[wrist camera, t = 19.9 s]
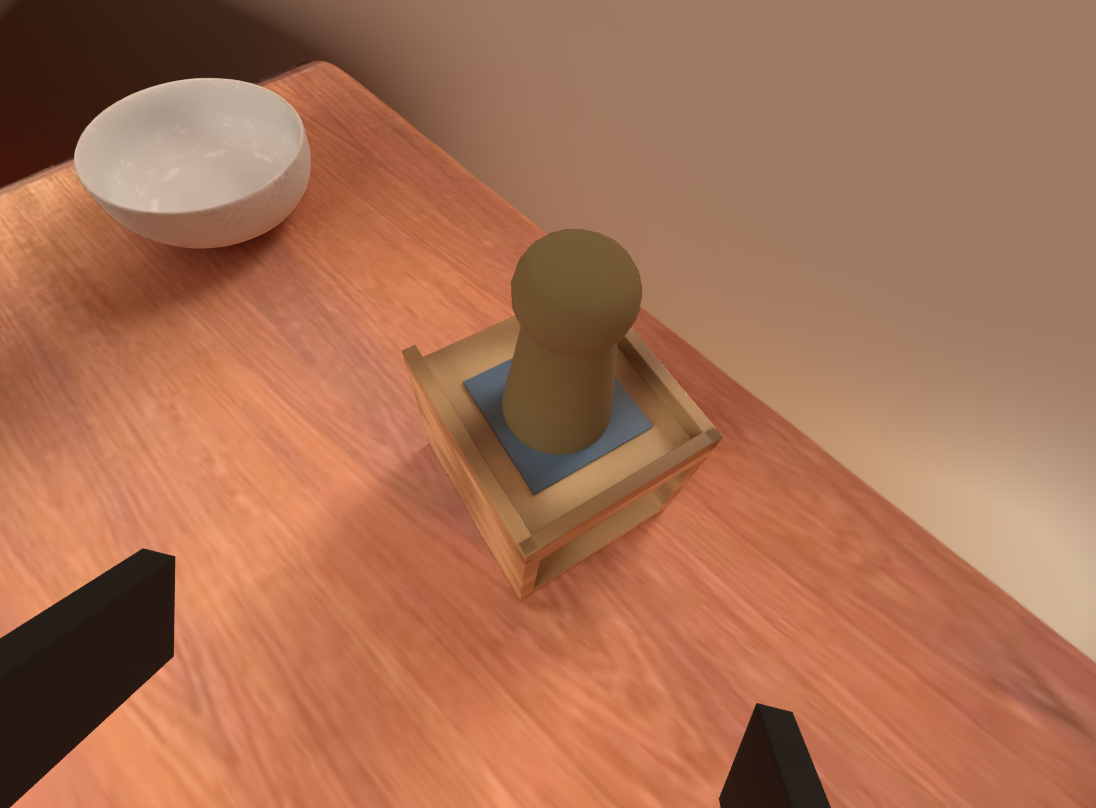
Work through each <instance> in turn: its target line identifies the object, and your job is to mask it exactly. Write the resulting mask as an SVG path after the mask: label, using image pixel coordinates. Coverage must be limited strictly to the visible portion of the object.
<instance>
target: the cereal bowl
mask: <svg viewBox="0 0 1096 808" xmlns="http://www.w3.org/2000/svg"><path fill="white" fill-rule="evenodd" d="M310 157H311V155H310V147H309V144H308V139H307V136H306V132H305V128H304V125H303V122H302V120H301V118H300V116H299V115H298V113H297V112H296V110H295V109H294V108H293V107H292V106H291V105H290V104H289V103H288V102H287V101H286V100H285V99H283V98H282V97H281V96H279V95H278V94H276V93H274V92H272V91H270V90H268V89H266V88H263V87H261V86H258V85H255V84H251V83H247V82H243V81H237V80H231V79H217V78H199V79H188V80H180V81H174V82H169V83H165V84H162V85H158V86H154V87H151V88H148V89H145V90H142V91H139V92H137V93H134V94H132V95H129V96H127V97H126V98H124V99H122V100H120V101H118V102H116V103H115V104H113V105H112V106H110V107H108V108H107V109H106V110H104V111H103V112H102V113H101V114H99V115H98V116H97V117H96V118H95V119H94V120H93V121H92V122H91V123H90V124H89V125H88V127H87V128H86V129H85V131H84V132H83V134H82V135H81V137H80V139H79V141H78V144H77V146H76V150H75V155H74V163H75V169H76V173H77V175H78V178H79V180H80V181H81V183H82V185H83V187H84V188H85V189H86V190H87V191H88V192H89V194H90V195H91V196H92V197H93V198H94V199H95V200H96V201H97V203H98V205H100V206H101V207H102V208H103V209H104V210H105V211H106V213H108V214H109V215H111V216H112V217H113V219H114V220H116V221H118V222H119V223H120V224H121V225H123V226H125V227H127V228H128V229H130V230H131V231H133V232H135V233H137V234H139V235H140V236H142V237H145V238H148V239H149V240H154V241H156V242H158V243H164V244H166V245H170V246H176V247H185V248H198V249H200V248H218V247H224V246H230V245H234V244H238V243H241V242H244V241H246V240H250V239H252V238H255V237H257V236H260V235H262V234H264V233H266V232H267V231H269V230H271V229H272V228H274V227H276V226H277V225H279V224H280V223H281V222H283V221H284V219H285V218H286V217H287V216H289V215H290V214H291V212H293V211H294V209H295V207H296V206H297V205H298V204H299V202H300V200H301V199H302V197H303V195H304V193H305V192H306V188H307V186H308V182H309V178H310V173H311V160H310Z"/></svg>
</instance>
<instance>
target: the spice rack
mask: <svg viewBox="0 0 1096 808" xmlns="http://www.w3.org/2000/svg"><path fill="white" fill-rule="evenodd" d="M520 327H521V326H520V324H519V322H518V320H517V318H516V316H514V317H511V318H509V319H507V320H505V321H502V322H500V323H498V324H496V325H494V326H491V327H489V328H487V329H485V330H482V331H480V332H478V333H476V334H474V335H471V336H469V337H467V338H465V339H462V340H460V341H458V342H456V343H454V344H451V345H449V346H447V347H445V348H442V349H440V350H438V351H436V352H434V353H431V354H429V355H427V356H425V357H422V355H421V354H420V352H419V350H418V349H417V347H416V346H415V345H413V346H411V347H409V348H407V349H404V350H402V353H403V356H404V360H405V363H406V366H407V370H408V373H409V376H410V380H411V383H412V387H413V390H414V393H415V397H416V400H417V403H418V407H419V410H420V414H421V417H422V420H423V424H424V427H425V430H426V434H427V437H428V441H429V443H430V445H431V447H432V448H433V450H434V452H435V454H436V455H437V457H438V459H439V461H440V462H441V464H442V466H443V468H444V470H445V471H446V473H447V475H448V477H449V478H450V480H451V482H452V484H453V485H454V487H455V489H456V491H457V492H458V494H459V496H460V498H461V499H462V501H463V503H464V505H465V506H466V508H467V510H468V512H469V513H470V515H471V517H472V519H473V520H474V522H475V524H476V526H477V527H478V529H479V531H480V533H481V534H482V536H483V538H484V540H485V541H486V543H487V545H488V547H489V548H490V550H491V552H492V554H493V556H494V557H495V559H496V561H497V563H498V564H499V566H500V568H501V570H502V571H503V573H504V575H505V577H506V578H507V580H508V582H509V584H510V585H511V587H512V589H513V591H514V592H515V594H516V596H517V598H518V599H519V601H521V600H523V599H524V598H526V597H528V596H529V595H531V594H532V593H534V592H535V591H537V590H538V589H540V588H542V587H543V586H545V585H546V584H548V583H549V582H551V581H553V580H554V579H556V578H557V577H559V576H560V575H562V574H564V573H565V572H567V571H568V570H570V569H571V568H573V567H575V566H576V565H578V564H579V563H581V562H582V561H584V560H586V559H587V558H589V557H590V556H592V555H593V554H595V553H597V552H598V551H600V550H601V549H603V548H604V547H606V546H608V545H609V544H611V543H612V542H614V541H615V540H617V539H619V538H620V537H622V536H623V535H625V534H626V533H628V532H630V531H631V530H633V529H634V528H636V527H637V526H639V525H641V524H642V523H644V522H645V521H647V520H648V519H650V518H651V517H653V516H655V515H656V514H658V513H659V512H661V511H662V510H664V509H666V507H667V506H668V505H669V504H670V502H671V501H672V500H673V499H674V497H675V496H676V495H677V494H678V492H679V491H680V490H681V489H682V487H683V486H684V485H685V484H686V483H687V481H688V480H689V479H690V478H691V476H692V475H693V474H694V473H695V471H696V470H697V469H698V468H699V466H700V465H701V464H702V463H703V461H704V460H705V459H706V458H707V456H708V455H709V454H710V453H711V451H712V450H713V449H714V448H715V447H716V445H717V444H718V443H719V442H720V440H721V439H722V438H723V436H722V435H721V434H720V432H719V431H718V430H717V429H716V428H715V426H714V425H713V424H712V423H711V422H710V421H709V419H708V418H707V417H706V416H705V415H704V413H703V412H702V411H701V410H700V409H699V407H698V406H697V405H696V404H695V403H694V401H693V400H692V399H691V398H690V397H689V395H688V394H687V393H686V392H685V391H684V389H683V388H682V387H681V386H680V385H679V383H678V382H677V381H676V380H675V379H674V377H673V376H672V375H671V374H670V373H669V371H668V370H667V369H666V368H665V367H664V365H663V364H662V363H661V362H660V361H659V359H658V358H657V357H656V356H655V355H654V353H653V352H652V351H651V350H650V349H649V347H648V346H647V345H646V344H645V343H644V341H643V340H642V339H641V338H640V337H639V335H638V334H637V333H636V332H635V331H634V329H633V328H632V327H631V328H630V329H629V331H628V332H627V334H626V335H625V336H624V337H623V339H622V340H621V341H620V342H618V345H617V357H616V368H615V380H614V392H613V403H612V412H611V417H610V422H609V425H608V427H607V428H606V430H605V432H604V433H603V435H602V436H601V438H600V439H599V440H597V441H596V442H595V443H593V444H592V445H591V446H590V447H588V448H586V449H584V450H581V451H578V452H575V453H573V454H561V455H552V454H548V453H544V452H540V451H536V450H534V449H532V448H531V447H529V446H527V445H525V444H524V443H522V442H520V441H519V439H518V438H517V437H516V436H515V435H514V434H513V433H512V432H511V430H510V429H509V427H508V425H507V423H506V420H505V418H504V416H503V406H502V398H503V394H504V390H505V386H506V382H507V378H508V374H509V370H510V366H511V363H512V359H513V355H514V351H515V347H516V343H517V339H518V335H519V331H520Z"/></svg>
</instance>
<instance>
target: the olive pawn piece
mask: <svg viewBox="0 0 1096 808" xmlns="http://www.w3.org/2000/svg"><path fill="white" fill-rule="evenodd" d="M511 293H512V308H513V310H514V313H515V315H516V318H517V320H518V322H519V324H520V326H521V327H520V331H519V335H518V339H517V343H516V347H515V351H514V355H513V359H512V363H511V366H510V370H509V374H508V378H507V382H506V386H505V390H504V394H503V398H502V406H503V416H504V418H505V420H506V423H507V425H508V427H509V429H510V430H511V432H512V433H513V434H514V435H515V436H516V437H517V438H518V439H519V441H520V442H522V443H524V444H525V445H527V446H529V447H531V448H532V449H534V450H536V451H540V452H544V453H548V454H552V455H561V454H573V453H575V452H578V451H581V450H584V449H586V448H588V447H590V446H591V445H592V444H593V443H595V442H596V441H597V440H599V439H600V438H601V436H602V435H603V433H604V432H605V430H606V428H607V427H608V425H609V422H610V417H611V412H612V403H613V392H614V380H615V368H616V357H617V345H618V342H620V341H621V340H622V339H623V337H624V336H625V335H626V334H627V332H628V331H629V329H630V328H631V326H632V325H633V323H634V322H635V321H636V318H637V315H638V313H639V309H640V304H641V298H642V284H641V280H640V275H639V271H638V269H637V267H636V265H635V263H634V262H633V260H632V259H631V257H630V255H629V254H628V252H627V251H626V250H625V249H624V248H623V247H622V246H620V245H619V244H618V243H617V242H616V241H615V240H613V239H611V238H609V237H606V236H604V235H602V234H600V233H597V232H592V231H588V230H583V229H567V230H562V231H558V232H554V233H550V234H548V235H546V236H544V237H543V238H541V239H539V240H537V241H536V242H535V243H534V244H532V245H531V246H530V247H529V248H528V250H527V251H526V252H525V253H524V254H523V255H522V256H521V258H520V259H519V262H518V265H517V267H516V270H515V273H514V276H513V278H512V281H511Z"/></svg>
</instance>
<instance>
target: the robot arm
mask: <svg viewBox="0 0 1096 808" xmlns="http://www.w3.org/2000/svg"><path fill="white" fill-rule="evenodd" d="M174 607H175V556H171V555H167V554H163V553H159V552H156V551H152V550H148V549H144V548H143V549H141V550H140V551H138V552H137V553H135V554H133V555H132V556H130V557H129V558H127V559H125V560H124V561H122V562H121V563H119V564H118V565H116V566H114V567H113V568H111V569H110V570H108V571H106V572H105V573H103V574H102V575H100V576H98V577H97V578H95V579H94V580H92V581H91V582H89V583H87V584H86V585H84V586H83V587H81V588H79V589H78V590H76V591H75V592H73V593H72V594H70V595H68V596H67V597H65V598H64V599H62V600H60V601H59V602H57V603H56V604H54V605H52V606H51V607H49V608H48V609H46V610H45V611H43V612H41V613H40V614H38V615H37V616H35V617H33V618H32V619H30V620H29V621H27V622H26V623H24V624H22V625H21V626H19V627H18V628H16V629H14V630H13V631H11V632H10V633H8V634H7V635H5V636H3V637H2V638H0V808H10V807H11V806H12V805H13V804H14V803H15V802H16V801H18V800H19V799H20V798H21V797H22V796H23V795H24V794H25V793H26V792H27V791H28V790H29V789H31V788H32V787H33V786H34V785H35V784H36V783H37V782H38V781H39V780H40V779H41V778H42V777H44V776H45V775H46V774H47V773H48V772H49V771H50V770H51V769H52V768H53V767H54V766H55V765H57V764H58V763H59V762H60V761H61V760H62V759H63V758H64V757H65V756H66V755H67V754H68V753H70V752H71V751H72V750H73V749H74V748H75V747H76V746H77V745H78V744H79V743H80V742H81V741H83V740H84V739H85V738H86V737H87V736H88V735H89V734H90V733H91V732H92V731H93V730H94V729H96V728H97V727H98V726H99V725H100V724H101V723H102V722H103V721H104V720H105V719H106V718H107V717H109V716H110V715H111V714H112V713H113V712H114V711H115V710H116V709H117V708H118V707H119V706H120V705H121V704H123V703H124V702H125V701H126V700H127V699H128V698H129V697H130V696H131V695H132V694H133V693H134V692H136V691H137V690H138V689H139V688H140V687H141V686H142V685H143V684H144V683H145V682H146V681H147V680H149V679H150V678H151V677H152V676H153V675H154V674H155V673H156V672H157V671H158V670H159V669H160V668H162V667H163V666H164V665H165V664H166V663H167V662H168V661H169V660H170V659H171V658H172V657H173V656H174ZM719 801H720V806H721V808H831V807H830V804H829V802H828V799H827V797H826V794H825V792H824V789H823V787H822V784H821V782H820V779H819V777H818V774H817V772H816V769H815V767H814V764H813V762H812V759H811V757H810V754H809V752H808V749H807V747H806V745H805V742H804V740H803V737H802V735H801V732H800V730H799V727H798V725H797V722H796V720H795V717H794V715H793V712H790V711H786V710H782V709H778V708H774V707H770V706H766V705H762V704H758V703H756V706H755V708H754V711H753V714H752V716H751V719H750V721H749V724H748V726H747V729H746V731H745V734H744V736H743V739H742V741H741V744H740V747H739V749H738V752H737V754H736V757H735V759H734V762H733V764H732V767H731V769H730V772H729V774H728V777H727V780H726V782H725V785H724V787H723V790H722V792H721V795H720V797H719Z"/></svg>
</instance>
